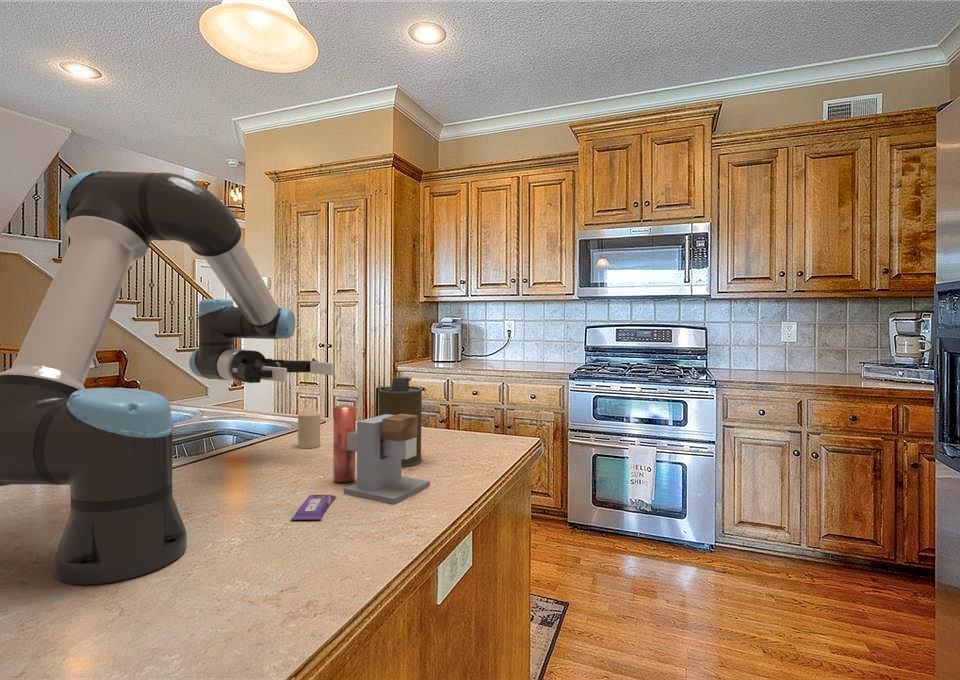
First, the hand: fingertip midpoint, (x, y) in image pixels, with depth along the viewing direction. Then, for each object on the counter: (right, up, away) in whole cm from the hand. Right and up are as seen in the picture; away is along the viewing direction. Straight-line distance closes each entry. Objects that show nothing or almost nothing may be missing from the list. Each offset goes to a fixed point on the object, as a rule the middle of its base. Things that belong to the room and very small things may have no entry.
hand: (310, 371), depth 112 cm
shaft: (+15, -22, -7) cm, 28 cm away
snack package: (+7, -24, -20) cm, 32 cm away
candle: (-8, -21, +25) cm, 34 cm away
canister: (+17, -22, +12) cm, 30 cm away
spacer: (+21, -12, -11) cm, 27 cm away
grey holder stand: (+18, -23, -9) cm, 31 cm away
